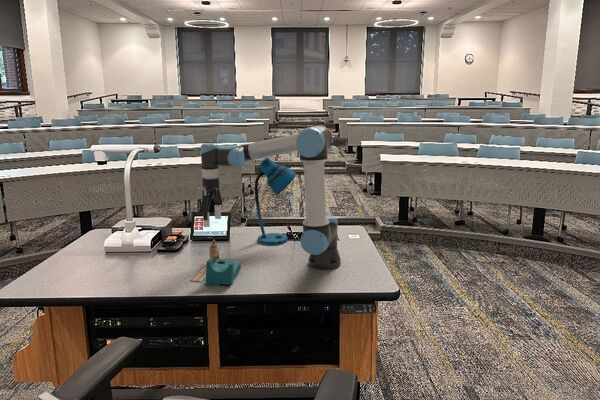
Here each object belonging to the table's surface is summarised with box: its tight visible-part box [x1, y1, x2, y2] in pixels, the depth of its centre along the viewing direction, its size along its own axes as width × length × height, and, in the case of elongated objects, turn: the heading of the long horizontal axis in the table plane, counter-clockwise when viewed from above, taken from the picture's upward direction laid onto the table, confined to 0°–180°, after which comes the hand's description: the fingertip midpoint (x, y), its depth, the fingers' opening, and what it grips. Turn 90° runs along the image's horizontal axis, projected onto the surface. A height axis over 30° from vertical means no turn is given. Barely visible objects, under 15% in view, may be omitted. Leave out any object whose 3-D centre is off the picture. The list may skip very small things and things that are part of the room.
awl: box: [208, 239, 220, 264], centre depth 228 cm, size 4×4×11 cm
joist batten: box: [189, 266, 206, 283], centre depth 215 cm, size 5×16×1 cm, turn 168°
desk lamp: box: [254, 157, 297, 246], centre depth 256 cm, size 16×22×45 cm
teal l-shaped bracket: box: [205, 258, 242, 287], centre depth 210 cm, size 18×11×10 cm, turn 174°
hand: (212, 222), depth 225 cm, fingers open, 13 cm apart
